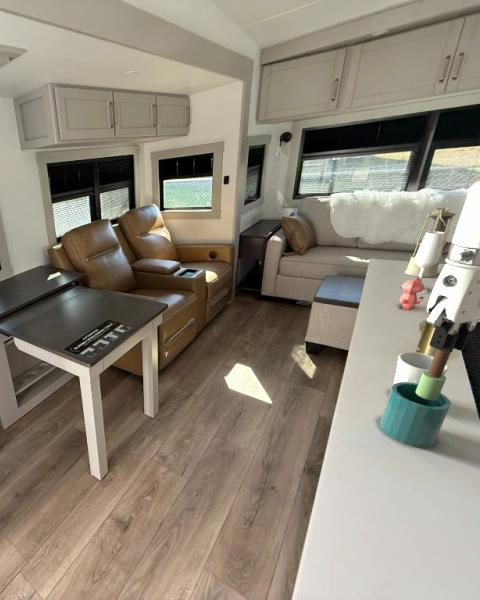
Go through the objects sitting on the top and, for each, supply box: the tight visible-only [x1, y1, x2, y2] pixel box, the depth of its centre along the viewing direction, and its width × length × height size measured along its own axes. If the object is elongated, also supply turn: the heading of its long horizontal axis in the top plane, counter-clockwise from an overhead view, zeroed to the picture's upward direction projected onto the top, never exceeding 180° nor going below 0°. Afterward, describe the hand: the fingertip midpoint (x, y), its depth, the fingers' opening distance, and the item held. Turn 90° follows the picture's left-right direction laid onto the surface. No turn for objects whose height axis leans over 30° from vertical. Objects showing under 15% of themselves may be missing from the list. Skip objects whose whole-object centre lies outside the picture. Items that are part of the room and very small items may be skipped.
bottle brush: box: [416, 320, 462, 400], centre depth 62 cm, size 3×3×17 cm
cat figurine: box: [398, 276, 426, 311], centre depth 116 cm, size 7×7×12 cm
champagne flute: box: [414, 231, 445, 294], centre depth 126 cm, size 7×7×24 cm
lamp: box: [404, 206, 456, 278], centre depth 138 cm, size 10×13×30 cm
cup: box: [392, 351, 449, 386], centre depth 75 cm, size 8×8×12 cm
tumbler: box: [379, 382, 452, 448], centre depth 67 cm, size 8×8×11 cm
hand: (445, 347), depth 60 cm, fingers closed on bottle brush
